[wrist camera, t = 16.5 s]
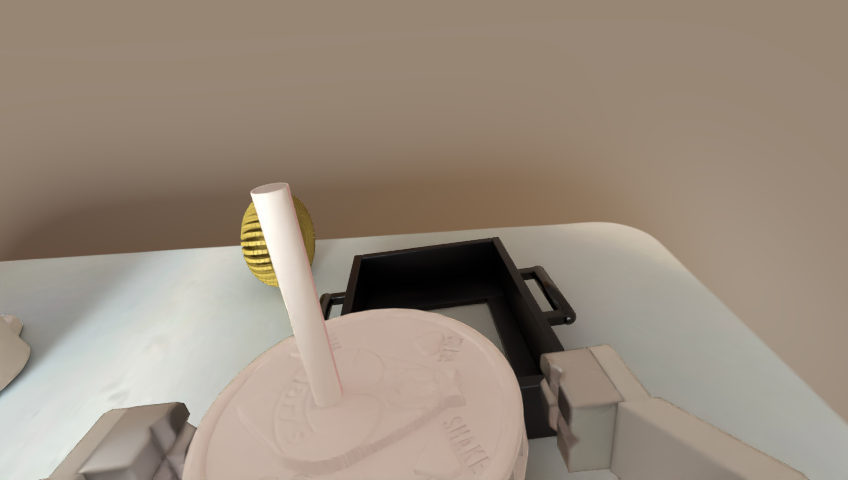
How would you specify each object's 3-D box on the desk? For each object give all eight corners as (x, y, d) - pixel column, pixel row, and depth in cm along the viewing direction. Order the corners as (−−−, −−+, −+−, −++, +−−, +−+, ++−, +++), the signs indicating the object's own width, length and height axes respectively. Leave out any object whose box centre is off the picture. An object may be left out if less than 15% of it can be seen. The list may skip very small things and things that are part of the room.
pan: (291, 471, 18) (272, 420, 16) (338, 294, 32) (330, 258, 30) (619, 427, 18) (625, 373, 17) (522, 269, 32) (522, 233, 30)
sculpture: (298, 304, 31) (270, 208, 28) (249, 307, 31) (216, 213, 28) (328, 257, 38) (308, 177, 35) (288, 260, 39) (265, 181, 35)
